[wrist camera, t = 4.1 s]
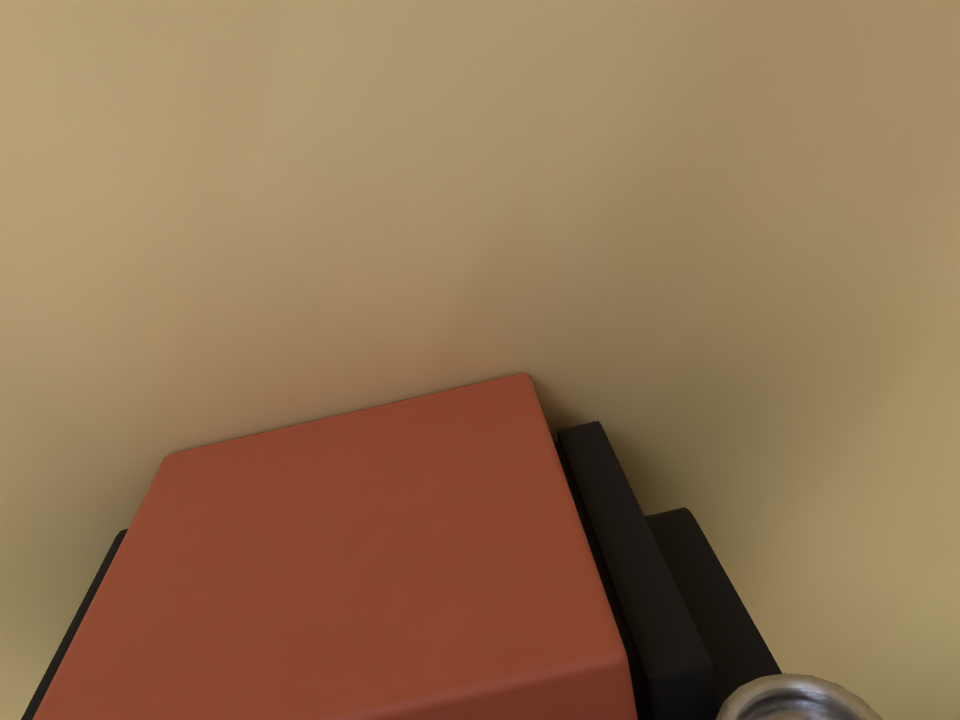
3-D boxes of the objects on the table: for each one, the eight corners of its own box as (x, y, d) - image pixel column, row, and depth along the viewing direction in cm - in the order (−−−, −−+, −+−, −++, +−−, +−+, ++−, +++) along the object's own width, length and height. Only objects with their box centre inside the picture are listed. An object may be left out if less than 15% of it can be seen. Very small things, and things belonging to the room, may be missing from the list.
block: (162, 452, 9) (-17, 802, 5) (529, 368, 9) (628, 655, 5) (280, 708, 11) (214, 1108, 7) (582, 639, 11) (686, 1001, 7)
